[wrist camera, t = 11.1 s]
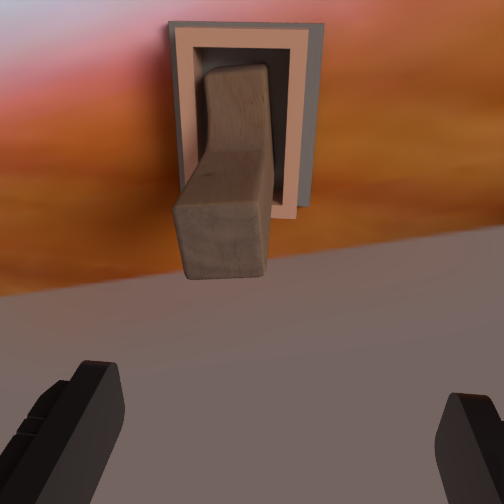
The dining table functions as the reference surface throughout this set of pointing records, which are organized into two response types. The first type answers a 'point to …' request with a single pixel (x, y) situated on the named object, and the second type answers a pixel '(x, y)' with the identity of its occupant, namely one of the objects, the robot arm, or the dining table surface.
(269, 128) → the wooden block
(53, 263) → the dining table surface
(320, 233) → the dining table surface
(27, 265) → the dining table surface
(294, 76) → the block holder
